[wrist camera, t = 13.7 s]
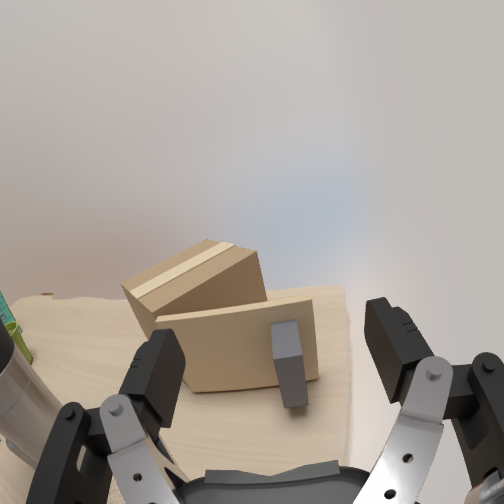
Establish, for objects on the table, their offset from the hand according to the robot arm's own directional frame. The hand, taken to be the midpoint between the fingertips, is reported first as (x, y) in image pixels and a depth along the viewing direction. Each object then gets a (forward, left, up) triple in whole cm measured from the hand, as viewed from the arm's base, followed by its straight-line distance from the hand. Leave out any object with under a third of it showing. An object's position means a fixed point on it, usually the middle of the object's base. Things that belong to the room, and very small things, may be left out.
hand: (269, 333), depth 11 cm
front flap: (+4, +11, -20) cm, 23 cm away
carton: (+8, +25, -20) cm, 34 cm away
